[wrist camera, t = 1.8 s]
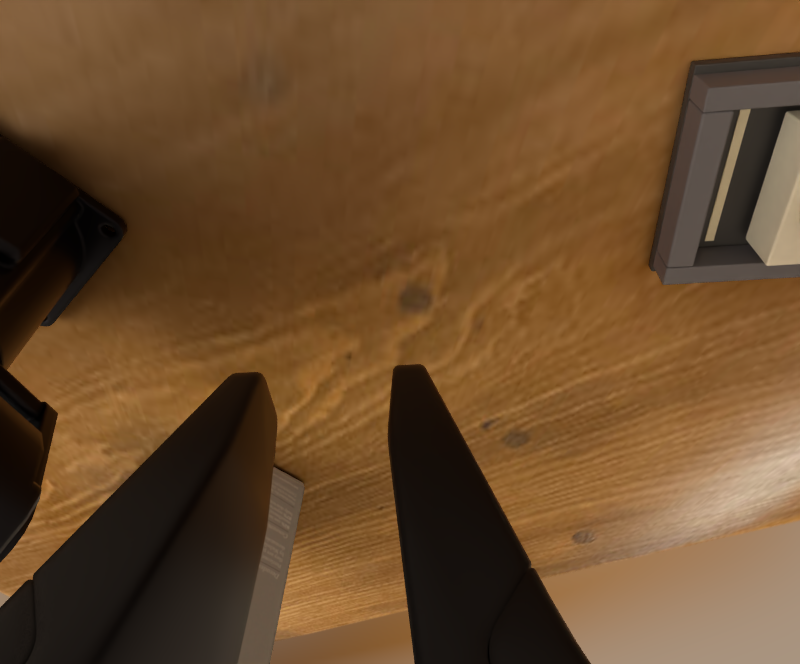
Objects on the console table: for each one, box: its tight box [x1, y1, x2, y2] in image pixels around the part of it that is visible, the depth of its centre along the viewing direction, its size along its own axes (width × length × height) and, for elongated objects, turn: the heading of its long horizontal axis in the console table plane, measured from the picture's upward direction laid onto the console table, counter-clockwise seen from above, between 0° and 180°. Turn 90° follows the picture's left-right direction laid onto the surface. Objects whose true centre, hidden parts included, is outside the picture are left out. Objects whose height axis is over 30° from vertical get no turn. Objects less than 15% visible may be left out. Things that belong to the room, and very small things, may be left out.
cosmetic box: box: [238, 467, 304, 664], centre depth 26 cm, size 8×7×16 cm
